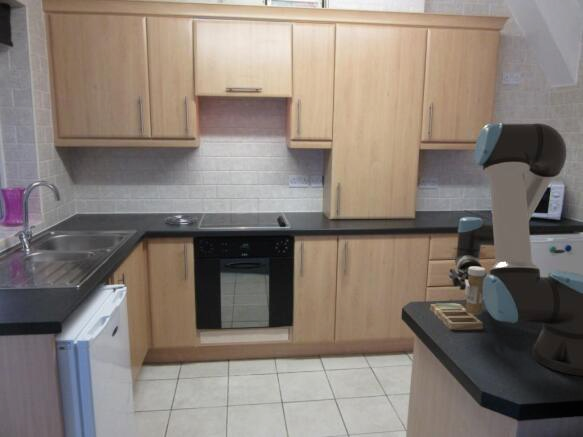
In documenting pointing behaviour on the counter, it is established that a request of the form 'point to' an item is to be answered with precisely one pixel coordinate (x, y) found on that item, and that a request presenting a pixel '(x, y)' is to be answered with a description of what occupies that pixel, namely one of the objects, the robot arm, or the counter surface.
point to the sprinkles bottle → (475, 290)
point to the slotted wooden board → (456, 316)
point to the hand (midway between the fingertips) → (477, 291)
